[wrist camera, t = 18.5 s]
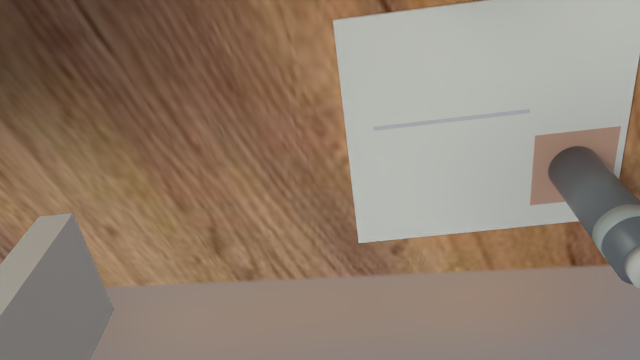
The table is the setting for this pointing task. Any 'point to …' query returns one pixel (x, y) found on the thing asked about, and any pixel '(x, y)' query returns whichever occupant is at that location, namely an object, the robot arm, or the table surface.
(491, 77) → the paper
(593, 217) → the marker
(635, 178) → the table surface
